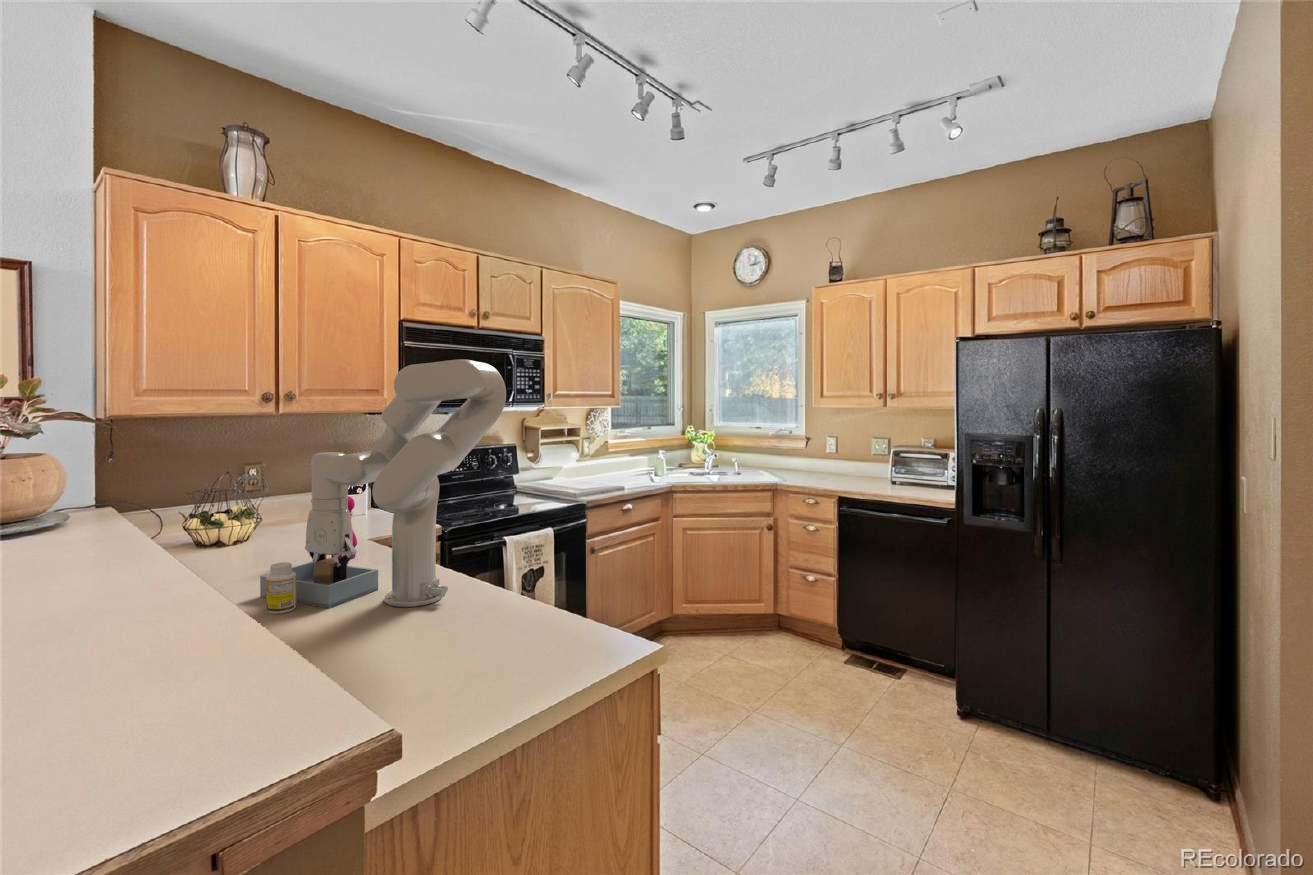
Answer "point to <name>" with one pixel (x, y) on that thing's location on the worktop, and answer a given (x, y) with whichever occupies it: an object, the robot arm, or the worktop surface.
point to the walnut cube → (325, 571)
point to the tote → (329, 586)
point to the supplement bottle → (281, 588)
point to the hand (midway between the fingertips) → (330, 579)
